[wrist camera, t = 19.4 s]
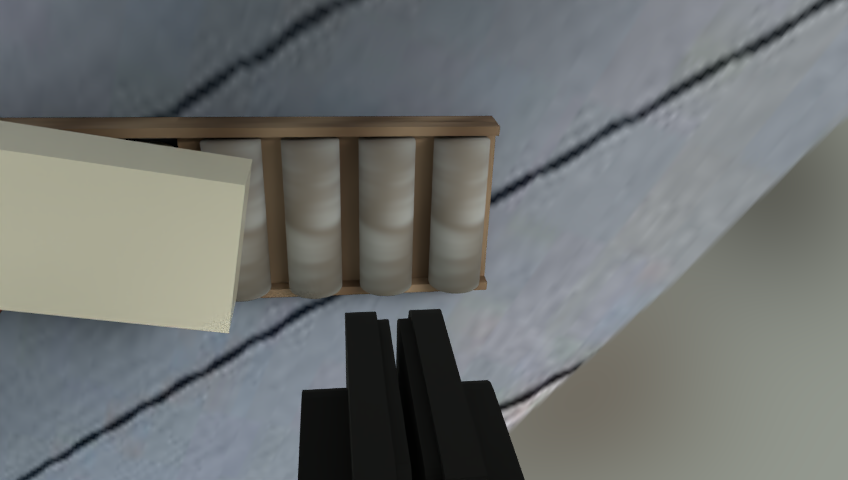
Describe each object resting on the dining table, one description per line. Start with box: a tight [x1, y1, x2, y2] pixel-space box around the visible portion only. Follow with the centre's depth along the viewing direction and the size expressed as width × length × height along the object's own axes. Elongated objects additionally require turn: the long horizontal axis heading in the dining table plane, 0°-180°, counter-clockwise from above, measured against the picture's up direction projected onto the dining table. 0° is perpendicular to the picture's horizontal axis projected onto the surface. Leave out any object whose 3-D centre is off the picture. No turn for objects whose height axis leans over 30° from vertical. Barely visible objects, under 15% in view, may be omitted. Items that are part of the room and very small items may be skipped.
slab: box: [0, 121, 252, 333], centre depth 33 cm, size 12×8×4 cm, turn 78°
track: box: [0, 116, 500, 312], centre depth 36 cm, size 28×10×6 cm, turn 88°
